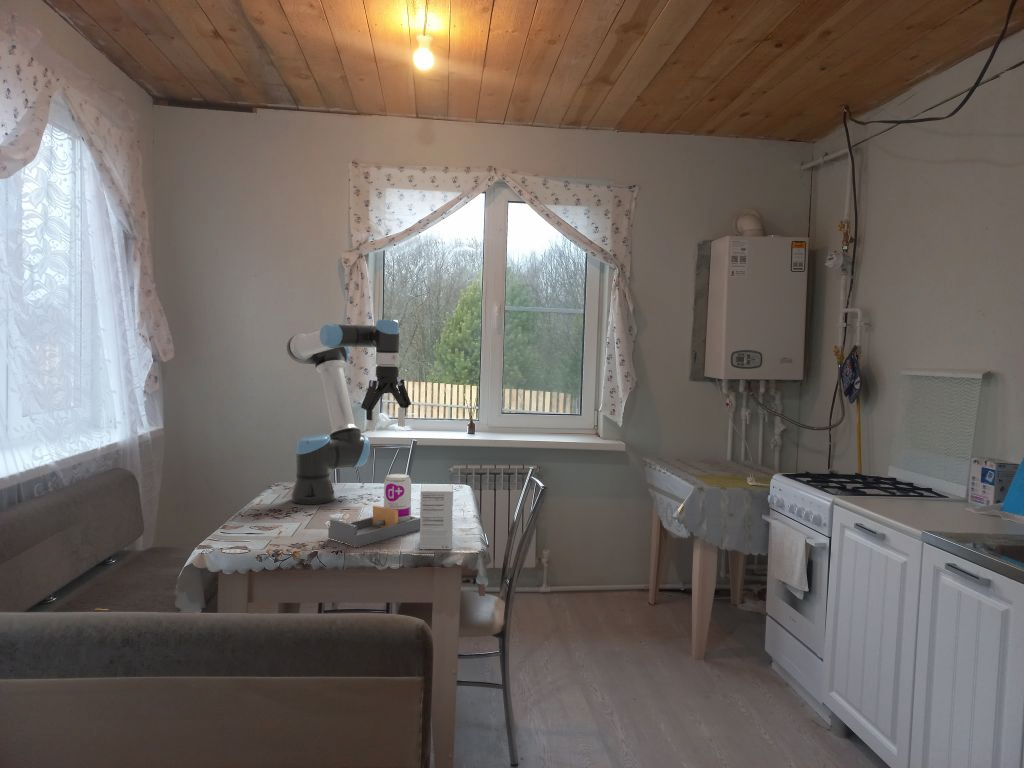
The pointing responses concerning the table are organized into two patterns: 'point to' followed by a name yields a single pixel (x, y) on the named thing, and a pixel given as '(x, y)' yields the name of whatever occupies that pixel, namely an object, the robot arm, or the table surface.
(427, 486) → the supplement box
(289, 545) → the table surface
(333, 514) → the table surface
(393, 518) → the pusher
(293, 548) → the table surface
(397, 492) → the supplement can
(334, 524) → the pusher lane
